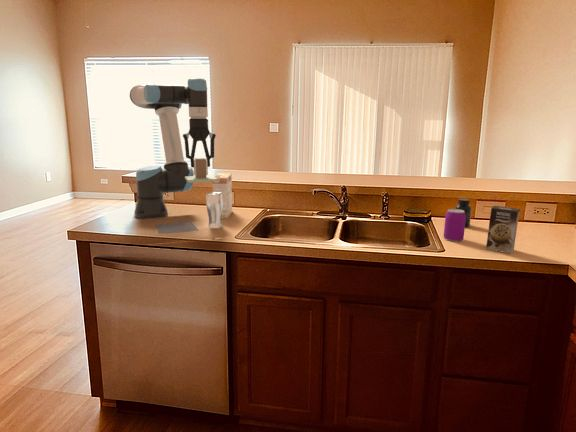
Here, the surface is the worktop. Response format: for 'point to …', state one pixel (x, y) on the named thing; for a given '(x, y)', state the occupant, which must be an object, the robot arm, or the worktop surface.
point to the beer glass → (214, 209)
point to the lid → (200, 173)
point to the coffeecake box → (224, 192)
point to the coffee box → (502, 228)
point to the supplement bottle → (465, 209)
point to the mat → (175, 227)
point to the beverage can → (454, 225)
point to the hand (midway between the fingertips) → (200, 174)
